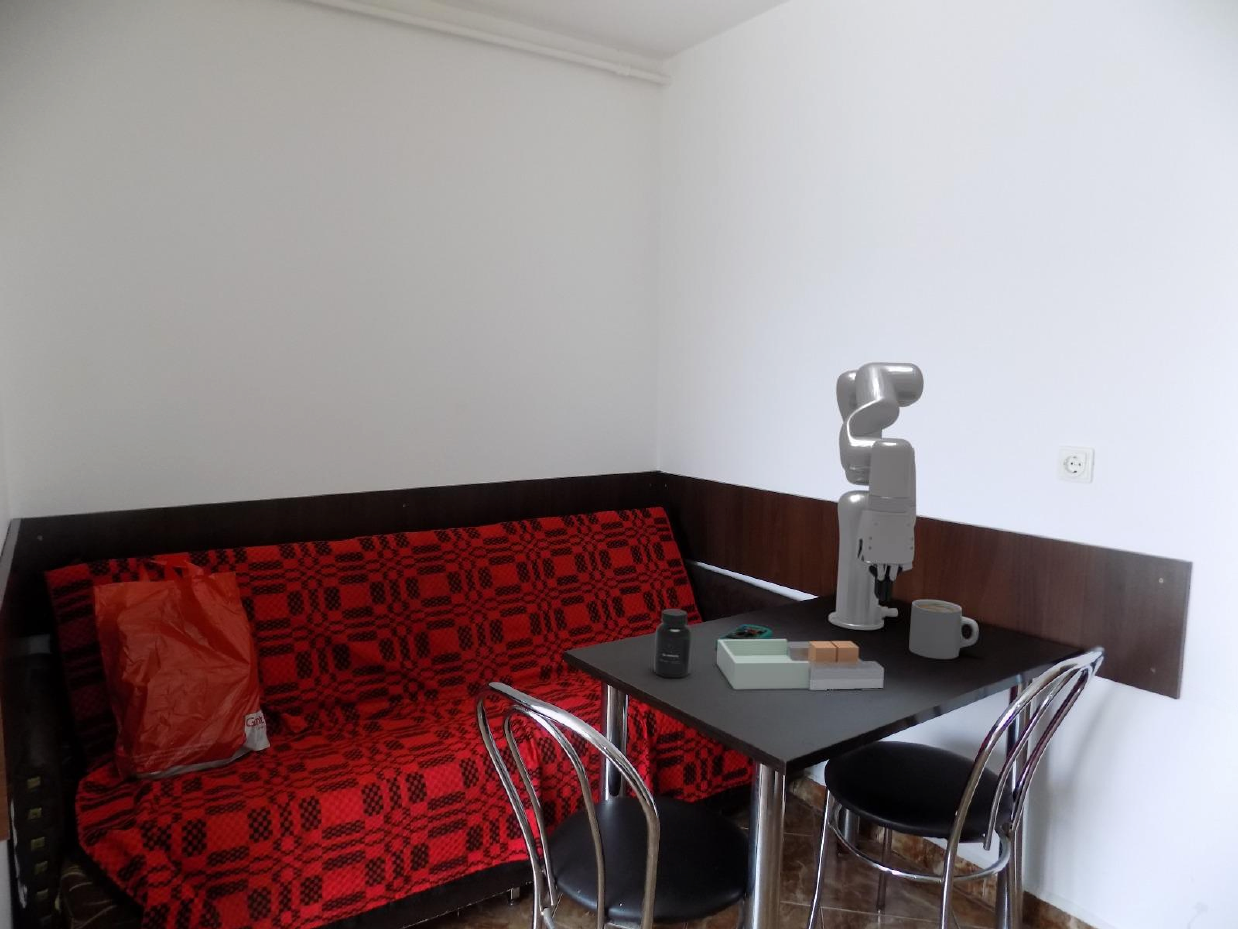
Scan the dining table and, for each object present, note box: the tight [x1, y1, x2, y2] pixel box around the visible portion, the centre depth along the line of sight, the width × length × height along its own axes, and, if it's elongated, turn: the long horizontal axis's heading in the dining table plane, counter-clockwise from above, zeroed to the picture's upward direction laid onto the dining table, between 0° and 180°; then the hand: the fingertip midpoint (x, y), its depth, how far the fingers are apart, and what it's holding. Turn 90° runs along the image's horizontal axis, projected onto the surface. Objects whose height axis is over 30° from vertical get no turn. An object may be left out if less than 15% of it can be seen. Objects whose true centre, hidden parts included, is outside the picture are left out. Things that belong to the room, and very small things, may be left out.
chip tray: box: [716, 638, 809, 690], centre depth 161 cm, size 14×14×5 cm
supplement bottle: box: [653, 608, 692, 679], centre depth 161 cm, size 7×7×12 cm
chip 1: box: [808, 640, 836, 662], centre depth 163 cm, size 4×4×4 cm
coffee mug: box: [908, 599, 980, 660], centre depth 178 cm, size 13×10×10 cm
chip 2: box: [830, 640, 860, 662], centre depth 163 cm, size 4×4×4 cm
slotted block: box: [786, 641, 885, 691], centre depth 163 cm, size 14×16×4 cm
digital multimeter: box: [715, 624, 773, 650], centre depth 181 cm, size 7×15×3 cm, turn 148°
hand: (882, 599), depth 162 cm, fingers closed
